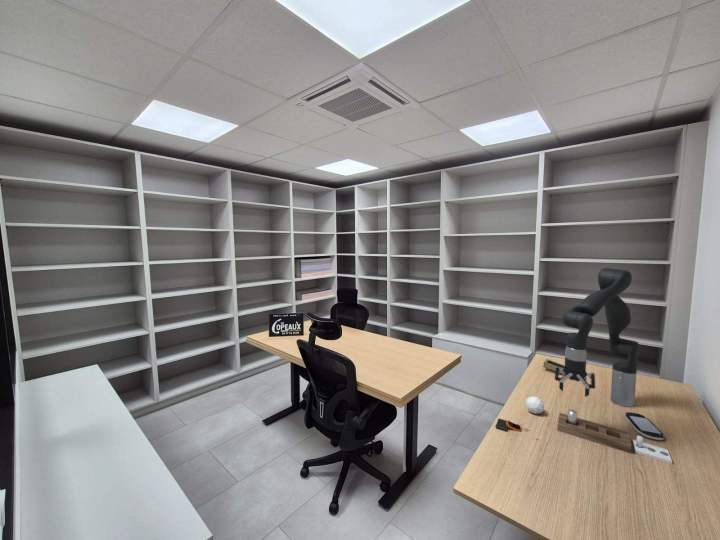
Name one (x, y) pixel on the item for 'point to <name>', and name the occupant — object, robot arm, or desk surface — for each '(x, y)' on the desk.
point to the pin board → (596, 433)
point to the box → (553, 365)
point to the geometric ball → (534, 405)
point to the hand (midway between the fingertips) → (573, 393)
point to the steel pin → (572, 417)
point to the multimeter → (505, 424)
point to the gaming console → (644, 426)
